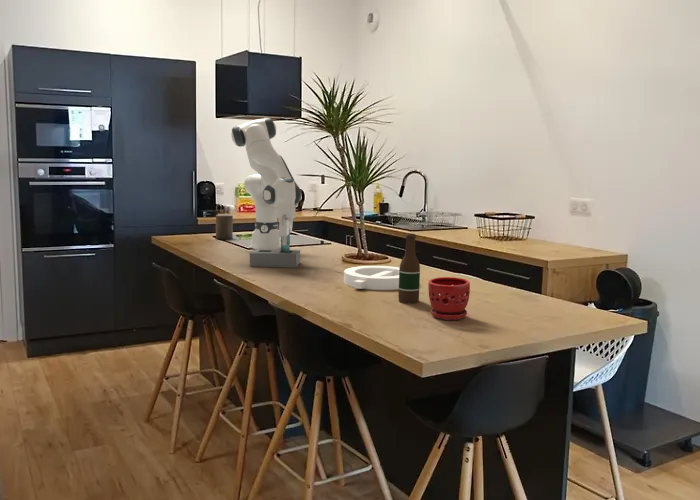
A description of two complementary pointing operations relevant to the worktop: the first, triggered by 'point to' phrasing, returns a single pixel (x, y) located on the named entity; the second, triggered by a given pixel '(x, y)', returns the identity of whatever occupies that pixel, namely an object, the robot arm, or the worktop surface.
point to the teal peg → (286, 247)
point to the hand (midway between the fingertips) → (285, 244)
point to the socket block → (274, 258)
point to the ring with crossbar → (372, 277)
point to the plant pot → (449, 297)
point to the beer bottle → (409, 273)
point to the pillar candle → (224, 226)
